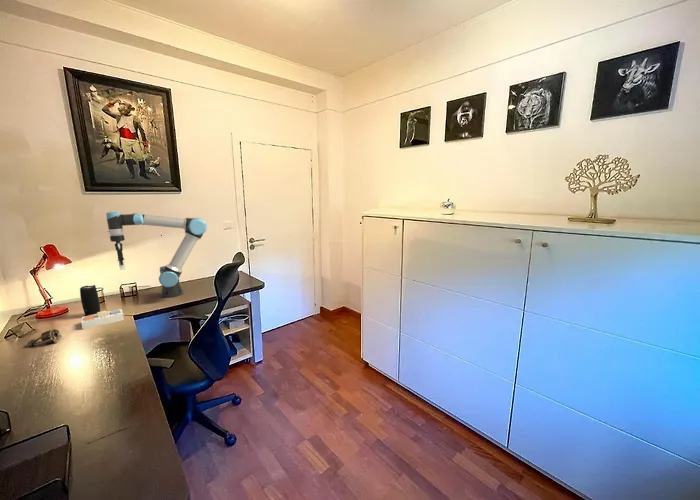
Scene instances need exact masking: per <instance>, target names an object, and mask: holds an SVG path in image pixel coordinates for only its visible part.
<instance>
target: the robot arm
mask: <svg viewBox="0 0 700 500" xmlns="http://www.w3.org/2000/svg"><path fill="white" fill-rule="evenodd" d="M106 223H107V228H108V230H107V233H109V239H110V242H112V243H113V242H115V243H114V247H115V251H116V254H117V262H118V265H119V271H124V270H126V266H125V258H124V255H123V243H122V242H123V241H125V235H124V234H125V232H124V228H123V227H124V226H140V225H141V226H153V227H154V226H155V227H162V228H173V229H183V230H184V234H185V235H184V236H183V238H182V240H181V242H180V244H179V245H178V248H177V249H176V250H175V253H174V254H173V256H172V258H171V259H170V262H169V263H168V264H166V265H163V266H159V272H160V274H159V277H158V282H159V284H160V285H161V291H160V297H161V298H174V297H178V296H181V295H183V294H184V290H183V288H182V287H183V286H181V282H180V276H181V275H182V274H183V270H182V269H183V267H184V266H185V263H186V261H187V260H188V258H189V256H190V254H191V253H192V251H193V248H194V246H195V245H196V243H197V242H198V241H199V240H201V239H202V237H203V236H204V234H205V233H207V232H206V231H207V229H208V225H207V222H206V221H205V220H204V219H202V218H200V217H185V218H180V217H179V218H178V217H170V216H160V215H154V214H153V215H152V214H142V213H137V212H135V213H134V212H133V213H127V214H121V212H120V211H108V212H106Z"/></svg>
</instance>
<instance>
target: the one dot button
mask: <svg viewBox="0 0 700 500" xmlns="http://www.w3.org/2000/svg"><path fill="white" fill-rule="evenodd" d="M109 311H110V313H111V315H112V314H117V313H120V311H119V310H118V309H114V311H113V310H109Z"/></svg>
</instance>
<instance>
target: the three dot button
mask: <svg viewBox="0 0 700 500" xmlns="http://www.w3.org/2000/svg"><path fill="white" fill-rule="evenodd" d="M83 317H84V316H83ZM93 318H95V316H94V315H91V316H86V317H84V320H89V319H93Z"/></svg>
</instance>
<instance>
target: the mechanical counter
mask: <svg viewBox="0 0 700 500" xmlns="http://www.w3.org/2000/svg"><path fill="white" fill-rule="evenodd" d="M62 337H63V336H62V333H60V331H59V330H58V329H57V328H52V329H49V330H47V331H44V332H42V333H41V335H40V336H39V337H38V338H36V339H35V338H33V339H30V340H29V341H28V342H27V345H26V346H27V347H29V348H31V347H33V346H39V345H42V344H45V345H47V344H48V345H49V344H51V343H53V342H54V343H55V344H57V343H58V342H59V341H60V339H61V338H62ZM39 340H41V341H40V342H38V341H39Z"/></svg>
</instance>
